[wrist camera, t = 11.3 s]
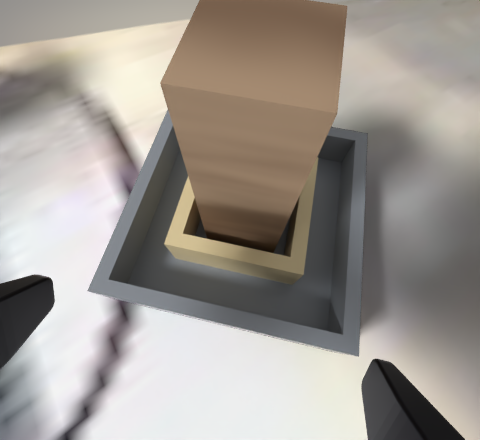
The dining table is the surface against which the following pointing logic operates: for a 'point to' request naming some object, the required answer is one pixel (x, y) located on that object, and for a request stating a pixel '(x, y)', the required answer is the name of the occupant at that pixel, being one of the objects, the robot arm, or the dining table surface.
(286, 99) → the post
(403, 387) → the robot arm
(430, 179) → the dining table surface
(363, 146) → the housing
